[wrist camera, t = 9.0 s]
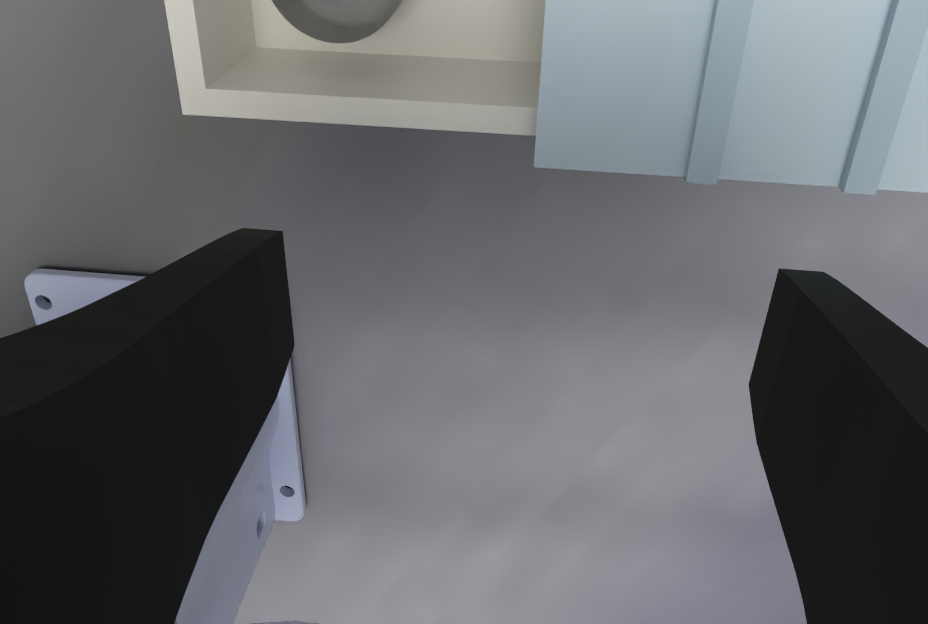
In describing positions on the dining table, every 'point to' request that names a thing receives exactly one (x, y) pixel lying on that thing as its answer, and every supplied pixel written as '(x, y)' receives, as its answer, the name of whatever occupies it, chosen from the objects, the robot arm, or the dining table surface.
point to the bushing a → (337, 17)
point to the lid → (738, 91)
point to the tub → (364, 66)
